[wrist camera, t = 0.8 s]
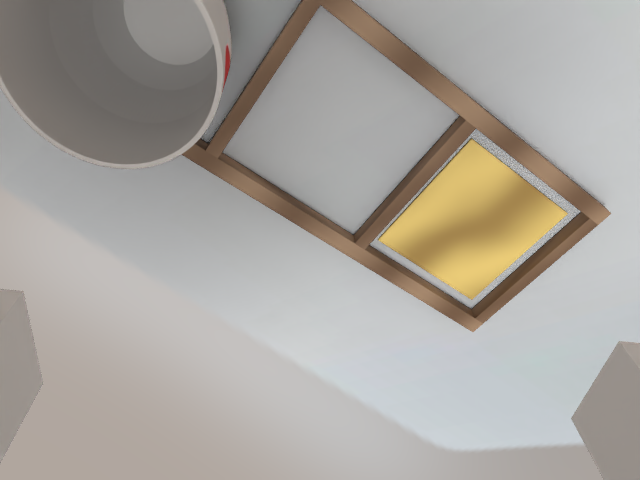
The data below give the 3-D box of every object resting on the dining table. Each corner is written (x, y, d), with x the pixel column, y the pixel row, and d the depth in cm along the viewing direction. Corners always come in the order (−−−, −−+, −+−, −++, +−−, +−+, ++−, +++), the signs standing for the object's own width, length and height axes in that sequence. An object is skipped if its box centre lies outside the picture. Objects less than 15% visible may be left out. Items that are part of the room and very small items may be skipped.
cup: (173, 122, 29) (118, 205, 21) (56, -1, 26) (-67, 39, 18) (282, 31, 27) (270, 83, 18) (169, -120, 23) (89, -139, 15)
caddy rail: (18, 45, 27) (9, 49, 26) (114, -194, 22) (106, -198, 21) (469, 322, 38) (473, 332, 37) (603, 205, 33) (611, 213, 32)
